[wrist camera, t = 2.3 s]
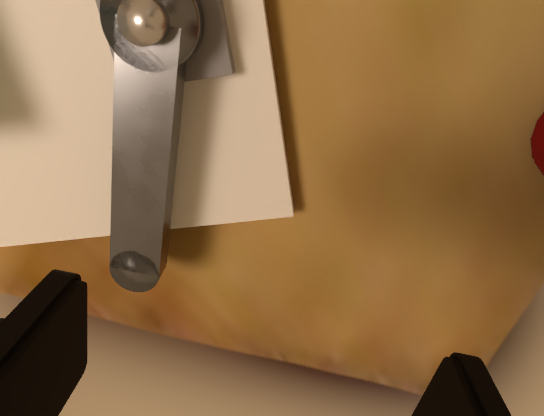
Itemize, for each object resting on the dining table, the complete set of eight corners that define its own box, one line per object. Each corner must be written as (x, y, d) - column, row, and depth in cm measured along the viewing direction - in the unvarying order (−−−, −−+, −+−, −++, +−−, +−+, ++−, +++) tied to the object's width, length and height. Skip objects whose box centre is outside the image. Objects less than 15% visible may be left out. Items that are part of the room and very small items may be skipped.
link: (115, -43, 18) (88, -51, 16) (209, -21, 18) (196, -26, 16) (109, 269, 26) (90, 294, 24) (175, 282, 26) (163, 309, 24)
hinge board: (244, -141, 18) (221, -206, 13) (293, 207, 26) (292, 259, 21) (-163, -52, 21) (-325, -75, 16) (-9, 240, 29) (-82, 293, 23)
